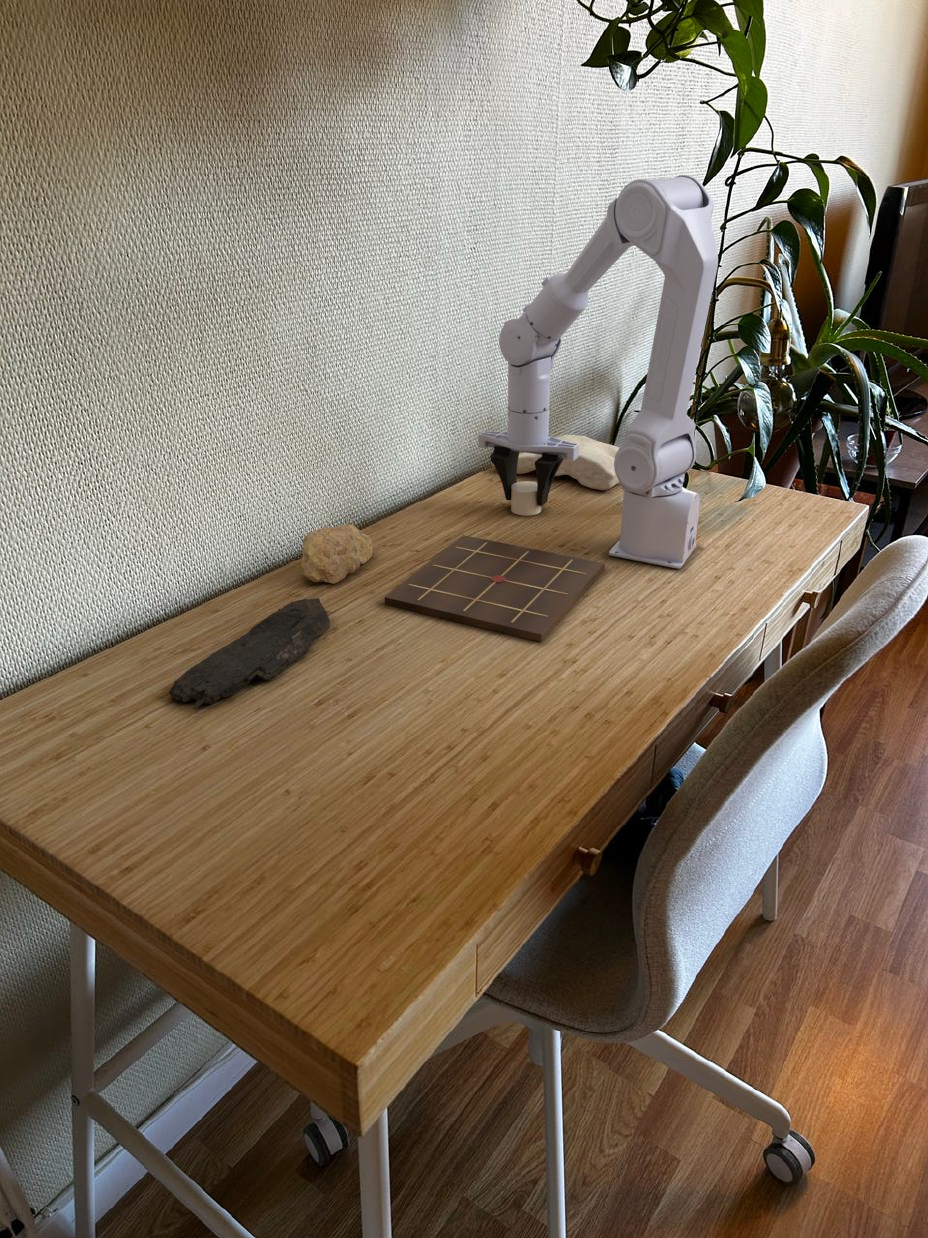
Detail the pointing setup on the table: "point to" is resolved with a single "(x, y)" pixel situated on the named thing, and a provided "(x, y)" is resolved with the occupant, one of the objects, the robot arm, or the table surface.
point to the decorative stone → (581, 463)
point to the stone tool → (334, 553)
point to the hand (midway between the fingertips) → (526, 500)
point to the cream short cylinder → (524, 498)
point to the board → (497, 587)
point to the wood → (254, 654)
